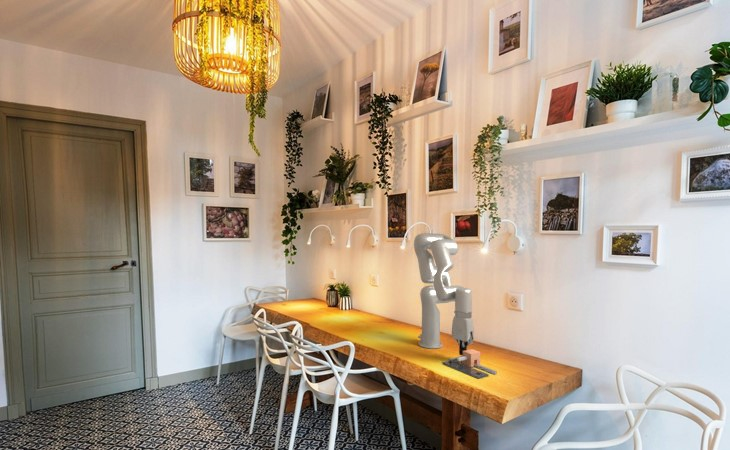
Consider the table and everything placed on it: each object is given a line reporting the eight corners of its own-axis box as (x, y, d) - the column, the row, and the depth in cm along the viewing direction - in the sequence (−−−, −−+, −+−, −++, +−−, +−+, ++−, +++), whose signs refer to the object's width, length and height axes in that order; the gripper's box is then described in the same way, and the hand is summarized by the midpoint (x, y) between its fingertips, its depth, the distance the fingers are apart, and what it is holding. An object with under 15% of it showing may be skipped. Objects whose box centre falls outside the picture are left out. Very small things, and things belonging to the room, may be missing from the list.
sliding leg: (453, 365, 169) (453, 352, 169) (471, 361, 175) (471, 349, 175) (462, 369, 165) (462, 355, 165) (480, 365, 171) (480, 352, 171)
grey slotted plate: (446, 362, 173) (446, 358, 174) (460, 359, 178) (460, 355, 178) (482, 377, 156) (482, 372, 156) (497, 374, 160) (497, 368, 160)
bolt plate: (442, 363, 172) (442, 361, 172) (452, 361, 175) (452, 359, 175) (478, 378, 154) (478, 376, 154) (488, 376, 157) (488, 374, 158)
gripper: (445, 312, 181) (445, 351, 180) (469, 318, 168) (469, 360, 167) (457, 311, 185) (457, 349, 184) (481, 317, 172) (481, 357, 171)
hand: (462, 354), depth 176 cm, fingers closed
